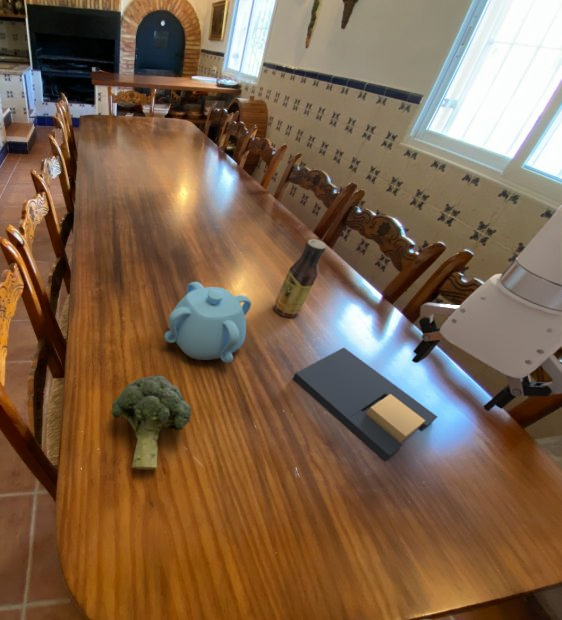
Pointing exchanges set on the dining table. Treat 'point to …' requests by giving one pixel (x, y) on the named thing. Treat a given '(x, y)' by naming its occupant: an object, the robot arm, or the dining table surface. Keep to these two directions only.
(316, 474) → the dining table surface
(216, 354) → the decorative pot
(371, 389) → the u-shaped block
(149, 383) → the vegetable
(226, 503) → the dining table surface
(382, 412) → the pad
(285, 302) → the sauce bottle
